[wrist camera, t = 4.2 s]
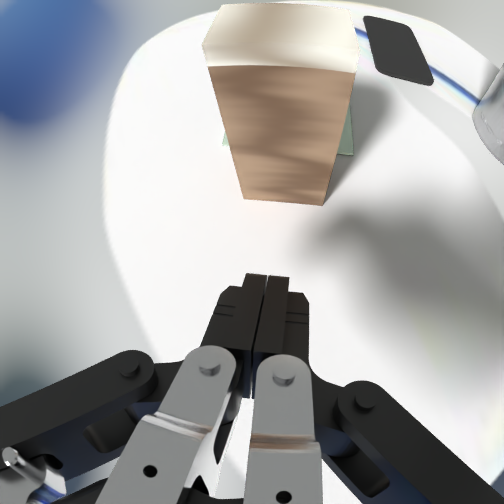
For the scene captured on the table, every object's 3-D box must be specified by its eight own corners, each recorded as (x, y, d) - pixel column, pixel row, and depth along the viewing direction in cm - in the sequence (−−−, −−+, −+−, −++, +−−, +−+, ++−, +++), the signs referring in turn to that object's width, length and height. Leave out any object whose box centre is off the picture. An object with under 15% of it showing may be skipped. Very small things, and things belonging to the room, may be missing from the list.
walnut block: (323, 161, 23) (349, 9, 10) (322, 205, 22) (360, 51, 9) (250, 156, 24) (221, 5, 10) (243, 199, 23) (201, 45, 9)
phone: (409, 25, 28) (436, 85, 24) (408, 29, 29) (434, 89, 25) (362, 14, 29) (377, 69, 25) (361, 18, 30) (375, 74, 26)
